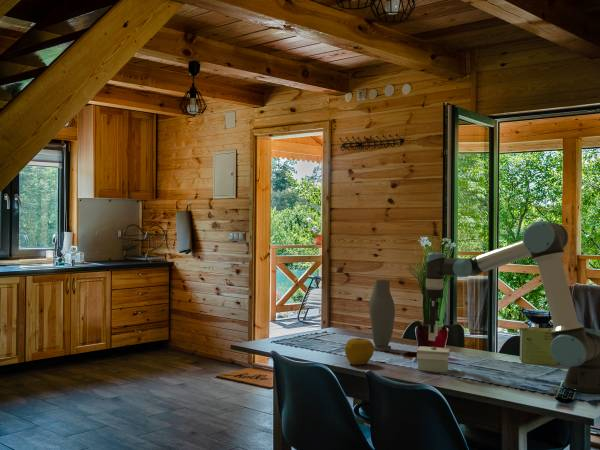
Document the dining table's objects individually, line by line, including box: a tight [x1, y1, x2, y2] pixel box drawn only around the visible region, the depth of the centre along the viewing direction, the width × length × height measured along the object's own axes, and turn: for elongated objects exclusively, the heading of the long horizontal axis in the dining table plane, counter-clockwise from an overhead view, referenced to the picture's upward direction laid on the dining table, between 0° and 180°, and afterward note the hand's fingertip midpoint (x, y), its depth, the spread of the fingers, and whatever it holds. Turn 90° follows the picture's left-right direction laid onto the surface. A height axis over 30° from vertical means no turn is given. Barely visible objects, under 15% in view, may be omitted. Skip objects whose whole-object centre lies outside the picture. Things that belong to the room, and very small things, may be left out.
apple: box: [344, 337, 375, 366], centre depth 281 cm, size 13×13×11 cm
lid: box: [416, 345, 451, 362], centre depth 273 cm, size 13×10×4 cm
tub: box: [417, 358, 449, 373], centre depth 273 cm, size 12×8×8 cm, turn 74°
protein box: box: [519, 326, 558, 366], centre depth 297 cm, size 10×15×16 cm
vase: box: [368, 279, 396, 352], centre depth 323 cm, size 13×13×35 cm
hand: (433, 338), depth 274 cm, fingers open, 13 cm apart
